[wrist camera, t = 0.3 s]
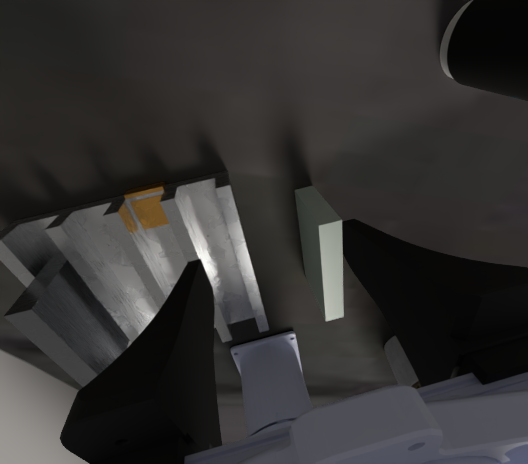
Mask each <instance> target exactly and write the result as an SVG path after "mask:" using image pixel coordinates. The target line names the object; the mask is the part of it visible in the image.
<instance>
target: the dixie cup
mask: <svg viewBox="0 0 528 464" xmlns="http://www.w3.org/2000/svg"><path fill="white" fill-rule="evenodd" d="M440 63H441V66H442V69H443V71H444V72H445V74H446V75H447V76H449V77H450V78H453V79H454V80H455V81H457V82H458V83H460V84H462V85H466V86H470V87H474V88H478V89H482V90H486V91H490V92H494V93H498V94H502V95H506V96H510V97H514V98H518V99H522V100H526V101H528V0H471V1H469V2H468V3H466V4H465V5H464V6H463V7H462V8H461V9H460V10H459V11H458V12H457V13H456V14H455V16H454V17H453V18H452V20H451V21H450V23H449V25H448V27H447V29H446V31H445V33H444V36H443V39H442V42H441V47H440Z"/></svg>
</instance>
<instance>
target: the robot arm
mask: <svg viewBox="0 0 528 464" xmlns="http://www.w3.org/2000/svg"><path fill="white" fill-rule="evenodd" d="M342 233H343V254H344V256H345V258H346V260H347V262H348V264H349V266H350V268H351V269H352V271H353V272H354V274H355V275H356V277H357V278H358V279H359V281H360V282H361V283H362V285H363V286H364V288H365V289H366V290H367V292H368V293H369V294H370V296H371V297H372V298H373V300H374V301H375V302H376V304H377V305H378V307H379V308H380V310H381V311H382V313H383V315H384V316H385V318H386V320H387V322H388V323H389V325H390V327H391V328H392V330H393V332H394V334H395V336H396V337H397V339H398V341H399V343H400V345H401V347H402V348H403V350H404V352H405V354H406V356H407V358H408V360H409V362H410V364H411V366H412V368H413V370H414V372H415V374H416V376H417V378H418V380H419V382H420V384H421V386H422V387H421V388H418V389H415V388H413V387H409V386H406V385H402V384H400V385H394V386H387V387H384V388H380V389H377V390H373V391H370V392H367V393H363V394H360V395H356V396H353V397H349V398H346V399H342V400H339V401H336V402H332V403H329V404H325V405H322V406H318V407H315V408H313V409H312V405H311V402H310V399H309V395H308V392H307V389H306V385H305V382H304V379H303V375H302V367H301V362H300V356H299V351H298V346H297V340H296V335H295V332H294V331H289V332H286V333H282V334H278V335H275V336H271V337H267V338H263V339H260V340H256V341H252V342H249V343H245V344H241V345H237V346H234V347H232V348H231V349H230V350H231V354H232V356H233V359H234V361H235V363H236V366H237V368H238V370H239V373H240V375H241V379H242V389H243V399H244V409H245V418H246V428H247V437H246V439H243V440H240V441H236V442H233V443H229V444H226V445H222V441H221V433H220V424H219V415H218V405H217V395H216V384H215V371H214V353H213V347H214V315H215V305H214V295H213V288H212V285H211V283H210V280H209V278H208V276H207V273H206V271H205V268H204V266H203V264H202V261H201V259H197V260H194V261H190V262H188V263H187V265H186V266H185V268H184V270H183V272H182V274H181V276H180V277H179V279H178V281H177V283H176V284H175V286H174V288H173V290H172V291H171V293H170V295H169V296H168V298H167V299H166V301H165V302H164V304H163V305H162V307H161V308H160V310H159V311H158V313H157V314H156V315H155V317H154V318H153V319H152V320H151V322H150V323H149V324H148V325H147V327H146V328H145V329H144V330H143V331H142V332H141V334H140V335H139V336H138V337H137V338H136V339H135V340H134V341H133V342H132V343H131V345H130V346H129V347H128V348H127V349H126V350H125V351H124V352H123V353H122V354H121V355H120V356H119V357H118V358H116V359H115V360H114V361H113V362H112V363H111V364H110V365H109V366H108V367H107V368H106V369H105V370H103V371H102V372H101V373H100V374H99V375H97V376H96V377H95V378H94V379H93V380H91V381H90V382H89V383H88V384H87V385H86V386H84V387H83V388H82V389H81V390H79V391H78V393H77V395H76V398H75V400H74V402H73V405H72V407H71V410H70V413H69V415H68V417H67V420H66V422H65V425H64V427H63V430H62V432H61V436H60V440H61V443H62V444H63V446H64V447H65V448H66V449H68V450H69V451H70V452H72V453H74V454H75V455H77V456H78V457H80V458H82V459H83V460H85V461H86V462H88V463H90V464H528V268H527V267H520V266H511V265H502V264H494V263H487V262H481V261H475V260H470V259H465V258H460V257H456V256H451V255H447V254H443V253H439V252H435V251H432V250H429V249H426V248H422V247H419V246H416V245H413V244H411V243H408V242H405V241H403V240H400V239H398V238H395V237H393V236H391V235H388V234H386V233H384V232H382V231H379V230H377V229H375V228H373V227H371V226H369V225H367V224H365V223H362V222H360V221H358V220H356V219H351V220H347V221H343V222H342Z"/></svg>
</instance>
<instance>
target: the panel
mask: <svg viewBox="0 0 528 464" xmlns="http://www.w3.org/2000/svg"><path fill="white" fill-rule="evenodd" d="M295 198H296V206H297V214H298V222H299V230H300V238H301V246H302V254H303V262H304V270H305V277H306V279H307V281H308V283H309V285H310V288H311V290H312V292H313V294H314V296H315V299H316V301H317V303H318V305H319V307H320V310H321V312H322V314H323V316H324V319H325V321H330V320H333V319H337V318H341V317H344V313H343V252H342V219H341V218H340V217H339V216H338V215H337V214H336V212H335V211H334V210H333V209H332V208H331V206H330V205H329V204H328V203H327V202H326V201H325V199H324V198H323V197H322V196H321V195H320V194H319V192H318V191H317V190H316V189H315V188H314V186H309V187H305V188H301V189H297V190H295Z"/></svg>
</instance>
